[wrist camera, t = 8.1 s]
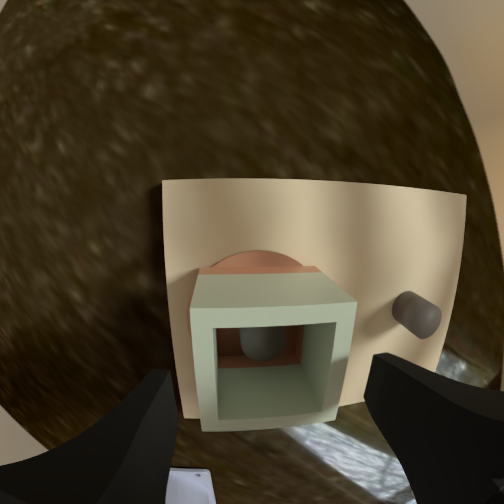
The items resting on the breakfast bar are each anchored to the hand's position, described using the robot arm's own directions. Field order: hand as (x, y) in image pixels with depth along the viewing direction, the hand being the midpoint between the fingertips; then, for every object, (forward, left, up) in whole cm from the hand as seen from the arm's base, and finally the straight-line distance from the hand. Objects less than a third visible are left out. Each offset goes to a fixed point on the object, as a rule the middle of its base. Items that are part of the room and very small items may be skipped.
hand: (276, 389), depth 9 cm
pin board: (+5, 0, -7) cm, 8 cm away
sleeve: (0, 0, -6) cm, 6 cm away
